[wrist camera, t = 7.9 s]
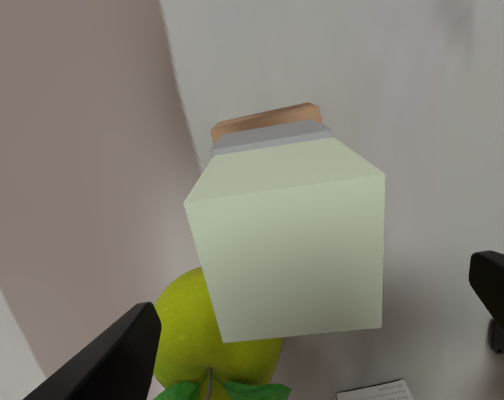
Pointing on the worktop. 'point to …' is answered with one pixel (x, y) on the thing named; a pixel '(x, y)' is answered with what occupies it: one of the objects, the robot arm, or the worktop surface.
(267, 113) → the tower base
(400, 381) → the supplement box
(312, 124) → the tower mid
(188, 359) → the fruit
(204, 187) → the sage cube
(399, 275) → the worktop surface
